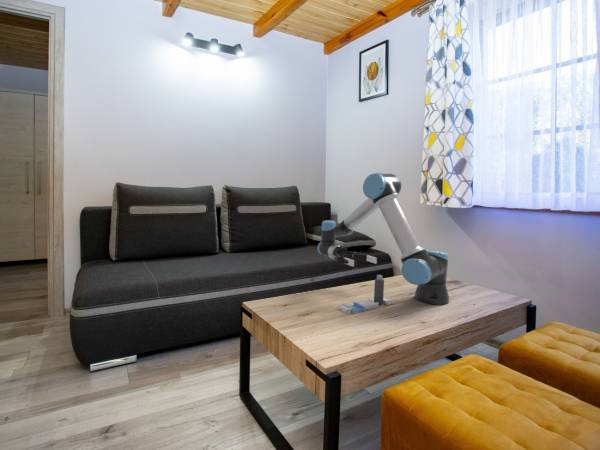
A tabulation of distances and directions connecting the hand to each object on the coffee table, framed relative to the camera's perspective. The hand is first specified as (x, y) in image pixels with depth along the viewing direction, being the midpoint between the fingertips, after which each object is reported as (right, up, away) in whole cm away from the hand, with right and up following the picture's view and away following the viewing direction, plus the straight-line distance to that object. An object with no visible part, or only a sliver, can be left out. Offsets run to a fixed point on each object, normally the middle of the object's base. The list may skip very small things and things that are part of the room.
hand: (365, 262), depth 162 cm
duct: (-1, -18, -10) cm, 21 cm away
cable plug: (+5, -18, -7) cm, 20 cm away
